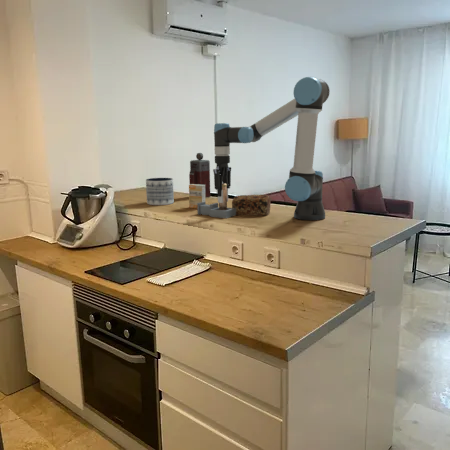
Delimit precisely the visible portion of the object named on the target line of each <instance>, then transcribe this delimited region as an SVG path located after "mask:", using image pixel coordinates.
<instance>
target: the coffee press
mask: <svg viewBox="0 0 450 450" xmlns="http://www.w3.org/2000/svg"><path fill="white" fill-rule="evenodd" d="M195 156H196V159H193V160H192V159H191V160H190V161H189V168H190V169H189V175H188V177H189V181H188V182H189V185H190V184H199V185H205V198H209V197H211V168H210V167H211V166H210V165H211V164H210V160H209V159H204V154H203V153H202V152H198V153H196V155H195Z"/></svg>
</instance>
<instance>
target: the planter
mask: <svg viewBox="0 0 450 450" xmlns="http://www.w3.org/2000/svg"><path fill="white" fill-rule="evenodd" d="M145 188H146V189H145V190H146V193H145V194H146V203H147V205H150V206H166V205H172V204H173V203H175V202H174V201H175V200H174V199H175V198H174V194H175V193H174V179H173V178H172V177H151V178H146V179H145Z"/></svg>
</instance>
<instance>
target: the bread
mask: <svg viewBox="0 0 450 450" xmlns="http://www.w3.org/2000/svg"><path fill="white" fill-rule="evenodd" d="M231 208H236V215H237V216H238V215H239V216H268V215H269V214H270V213H271V196H270V195H268V194H247V195H246V194H244V195H237V196H235V197H233V199H232V201H231ZM236 215H235V216H236Z"/></svg>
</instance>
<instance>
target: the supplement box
mask: <svg viewBox="0 0 450 450" xmlns="http://www.w3.org/2000/svg"><path fill="white" fill-rule="evenodd" d="M201 202H206V197H205V185H199V184H190V183H189V184H188V203H189V204H188V205H189V206H188V207H189V209H197V203H201Z"/></svg>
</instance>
